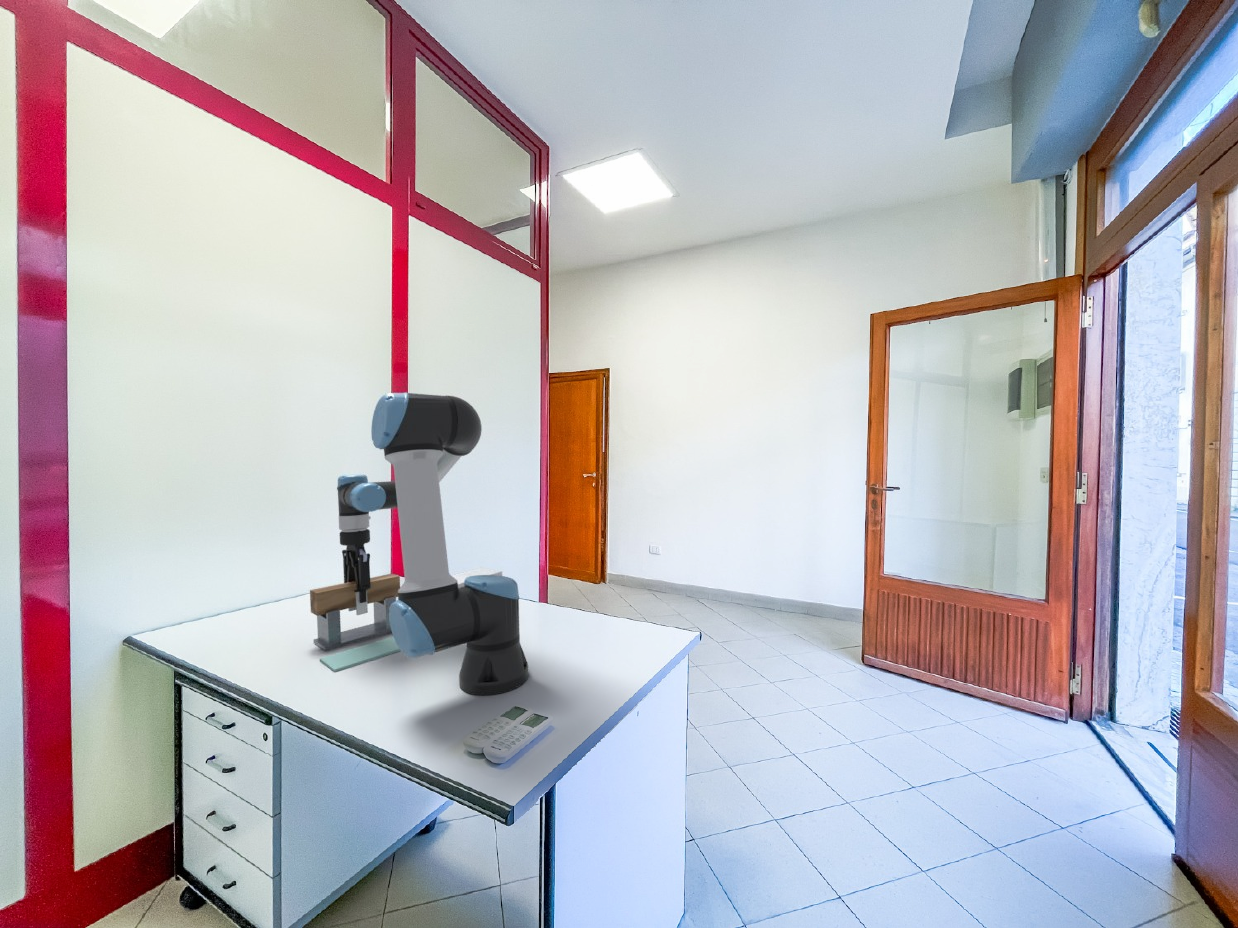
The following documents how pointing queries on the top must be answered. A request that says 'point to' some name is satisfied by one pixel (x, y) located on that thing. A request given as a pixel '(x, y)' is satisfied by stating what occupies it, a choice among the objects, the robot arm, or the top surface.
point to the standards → (335, 638)
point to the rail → (352, 594)
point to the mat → (360, 654)
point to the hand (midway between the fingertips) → (358, 611)
